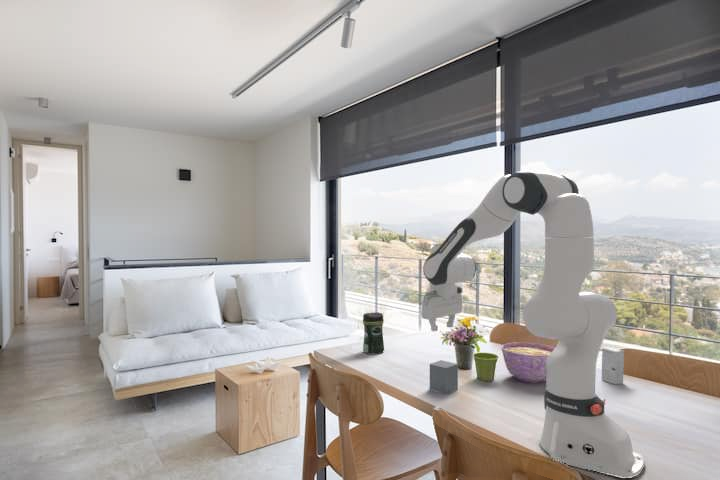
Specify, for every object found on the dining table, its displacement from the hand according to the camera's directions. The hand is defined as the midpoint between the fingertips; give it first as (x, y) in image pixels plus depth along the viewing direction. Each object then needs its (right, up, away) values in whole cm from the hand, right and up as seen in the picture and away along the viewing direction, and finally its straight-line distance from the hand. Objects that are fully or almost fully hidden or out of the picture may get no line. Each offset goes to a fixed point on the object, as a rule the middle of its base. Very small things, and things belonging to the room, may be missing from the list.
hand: (442, 328), depth 152 cm
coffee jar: (-23, -22, +50) cm, 59 cm away
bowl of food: (+35, -21, +10) cm, 42 cm away
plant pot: (+18, -21, +11) cm, 30 cm away
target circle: (0, -21, 0) cm, 21 cm away
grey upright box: (0, -21, 0) cm, 21 cm away
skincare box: (+64, -21, +7) cm, 68 cm away
